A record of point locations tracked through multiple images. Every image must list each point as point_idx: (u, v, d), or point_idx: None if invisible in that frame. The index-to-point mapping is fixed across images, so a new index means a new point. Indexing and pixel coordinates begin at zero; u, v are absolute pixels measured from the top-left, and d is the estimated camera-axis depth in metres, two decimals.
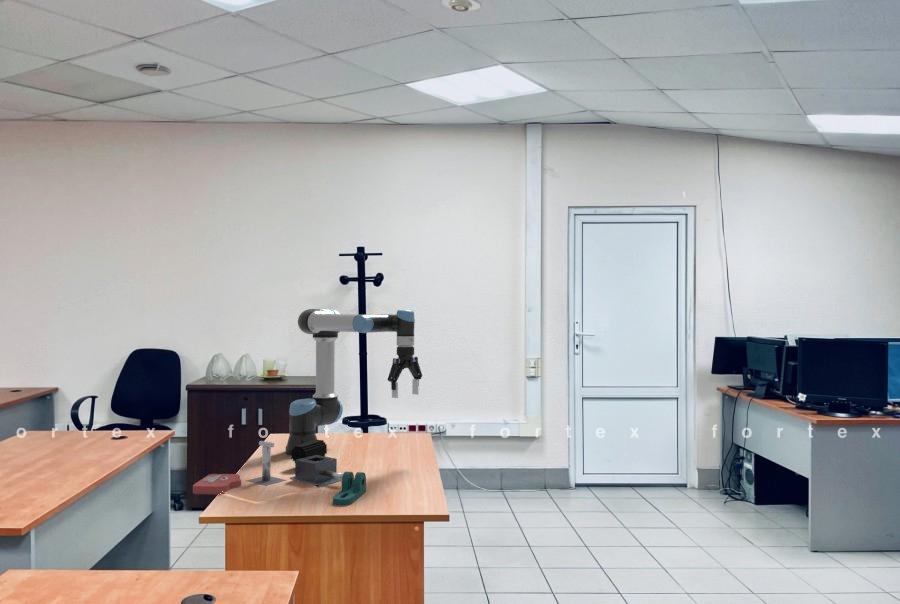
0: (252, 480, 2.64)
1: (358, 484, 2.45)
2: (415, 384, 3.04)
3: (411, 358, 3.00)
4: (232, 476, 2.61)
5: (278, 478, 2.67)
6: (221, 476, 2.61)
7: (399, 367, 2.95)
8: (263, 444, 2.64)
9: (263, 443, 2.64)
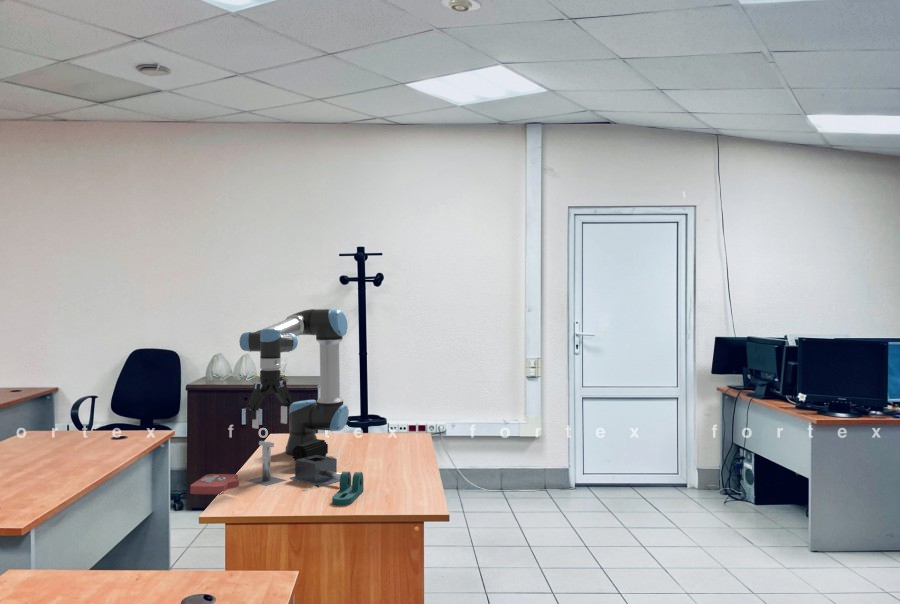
0: (252, 480, 2.64)
1: (356, 484, 2.45)
2: (283, 412, 2.70)
3: (277, 383, 2.67)
4: (230, 476, 2.61)
5: (278, 478, 2.67)
6: (219, 476, 2.61)
7: (261, 393, 2.62)
8: (263, 444, 2.64)
9: (263, 443, 2.64)
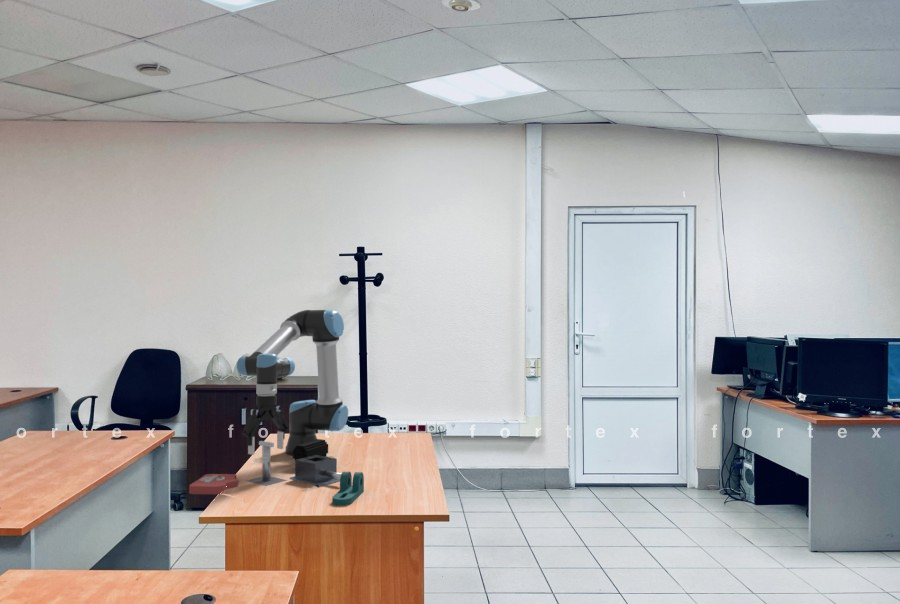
0: (252, 480, 2.64)
1: (356, 484, 2.45)
2: (280, 437, 2.69)
3: (274, 408, 2.66)
4: (229, 476, 2.61)
5: (278, 478, 2.67)
6: (218, 476, 2.61)
7: (257, 419, 2.61)
8: (263, 444, 2.64)
9: (263, 443, 2.64)
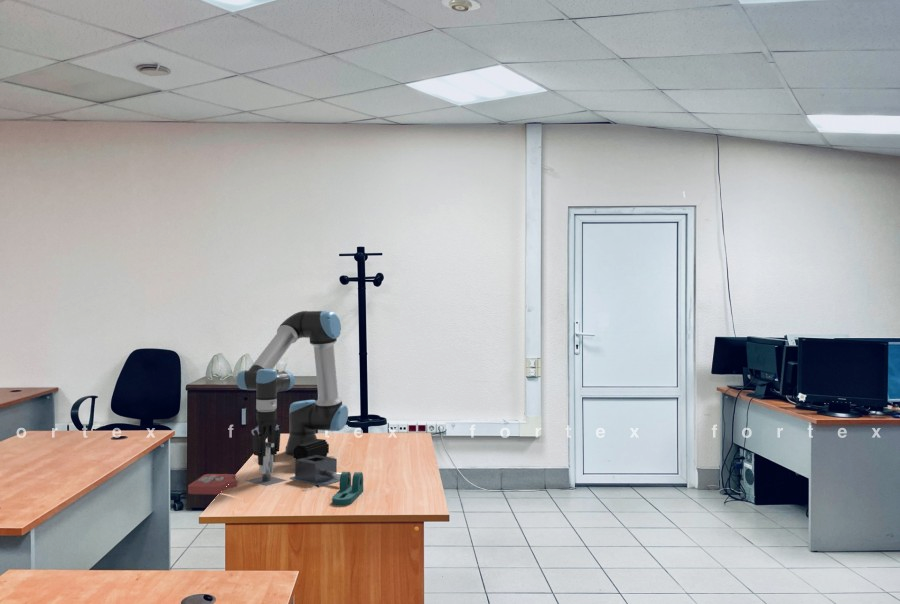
0: (252, 480, 2.64)
1: (356, 484, 2.45)
2: None
3: (274, 423, 2.66)
4: (228, 476, 2.61)
5: (278, 478, 2.67)
6: (217, 476, 2.61)
7: (261, 437, 2.62)
8: None
9: None
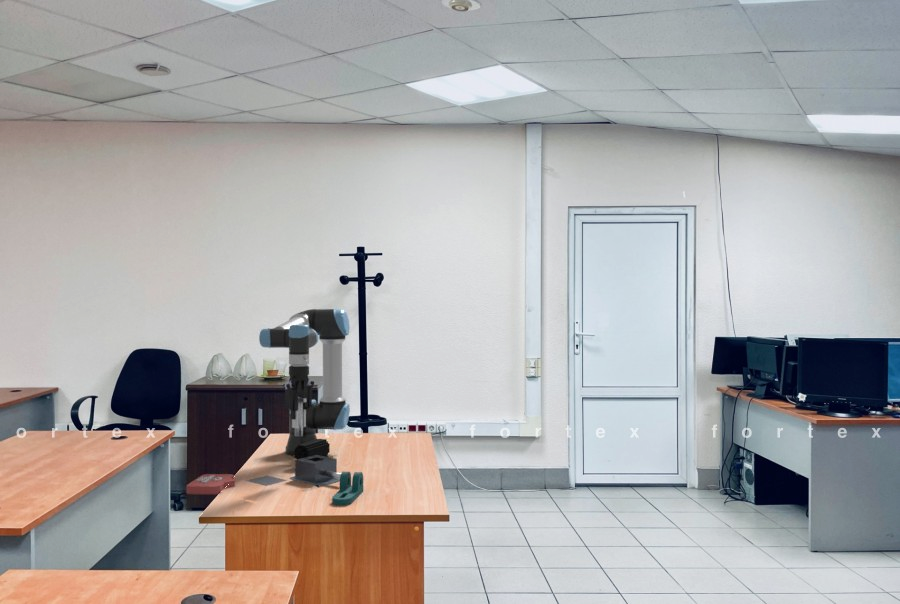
0: (252, 480, 2.64)
1: (356, 484, 2.45)
2: None
3: (307, 378, 2.68)
4: (226, 476, 2.61)
5: (278, 478, 2.67)
6: (215, 476, 2.61)
7: (294, 392, 2.64)
8: None
9: None
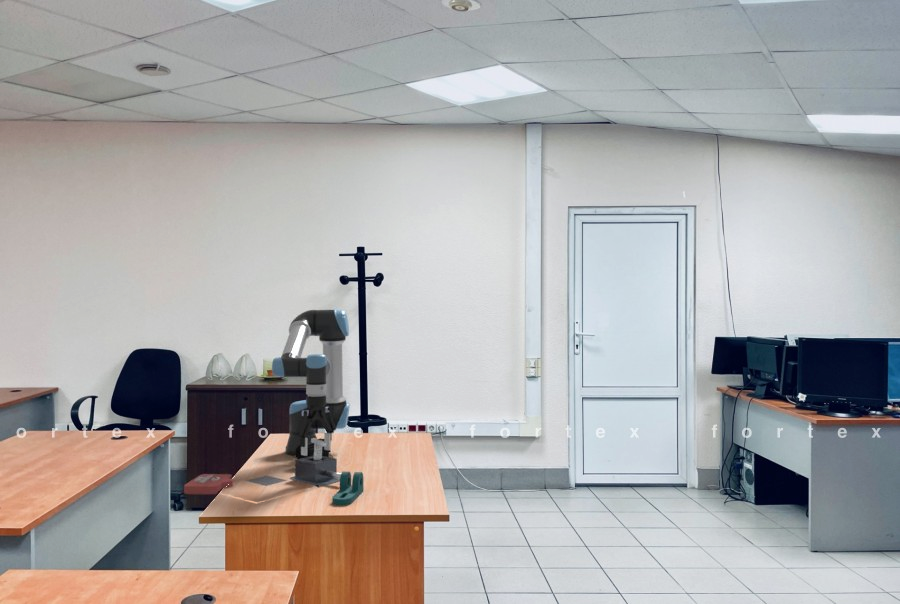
0: (252, 480, 2.64)
1: (356, 484, 2.45)
2: (327, 438, 2.71)
3: (323, 408, 2.69)
4: (224, 476, 2.61)
5: (278, 478, 2.67)
6: (213, 476, 2.61)
7: (308, 420, 2.64)
8: (315, 442, 2.66)
9: (315, 441, 2.66)
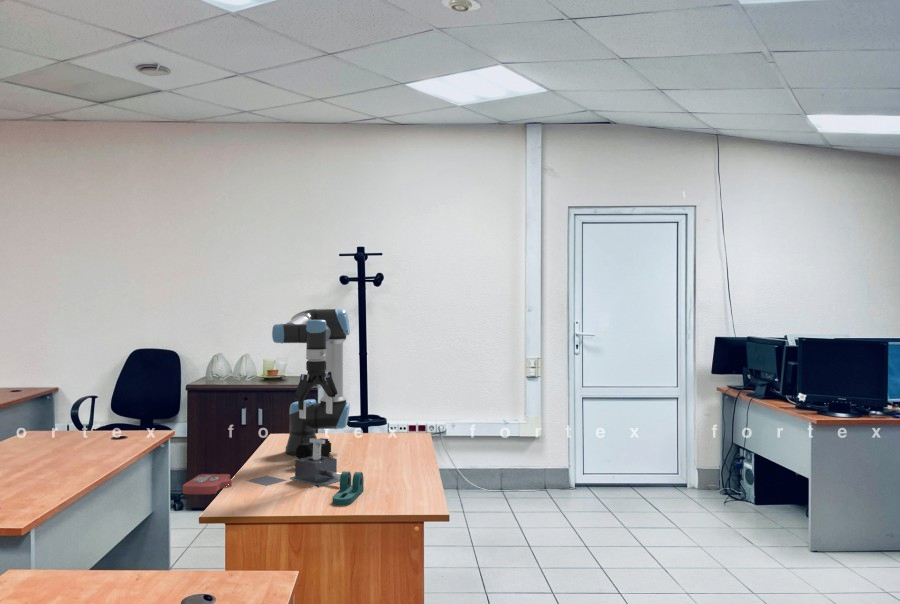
0: (252, 480, 2.64)
1: (356, 484, 2.45)
2: (329, 402, 2.72)
3: (323, 373, 2.69)
4: (222, 476, 2.61)
5: (278, 478, 2.67)
6: (211, 476, 2.61)
7: (308, 384, 2.64)
8: (314, 441, 2.68)
9: (314, 440, 2.68)
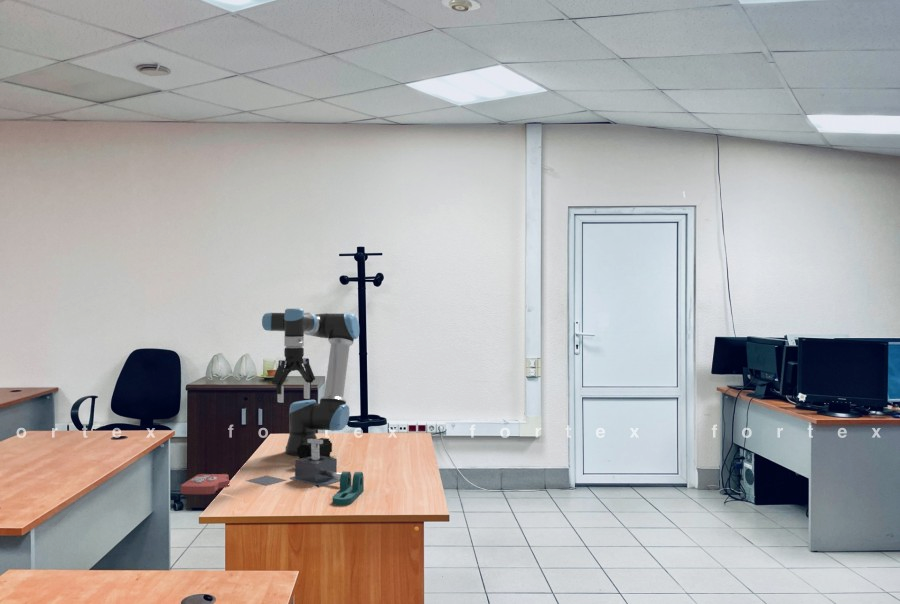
0: (252, 480, 2.64)
1: (356, 484, 2.45)
2: (306, 388, 2.84)
3: (301, 360, 2.81)
4: (221, 476, 2.61)
5: (278, 478, 2.67)
6: (210, 476, 2.61)
7: (286, 369, 2.76)
8: (312, 441, 2.68)
9: (312, 440, 2.68)
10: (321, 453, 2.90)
